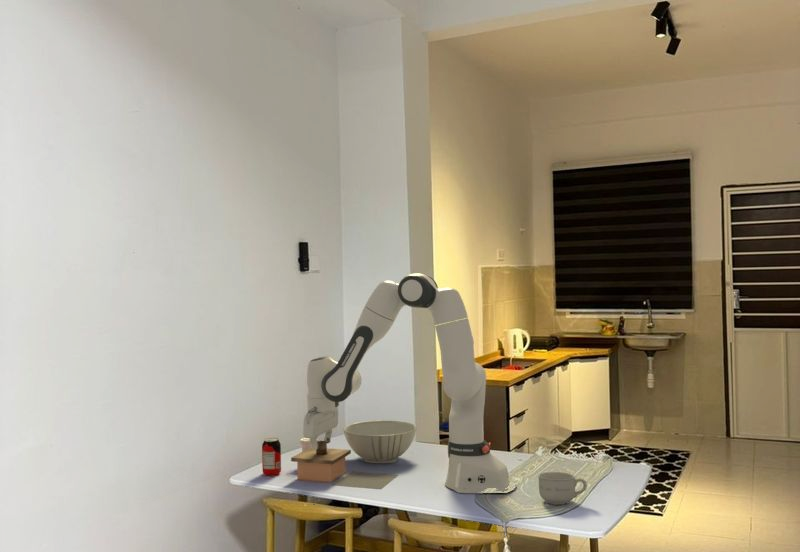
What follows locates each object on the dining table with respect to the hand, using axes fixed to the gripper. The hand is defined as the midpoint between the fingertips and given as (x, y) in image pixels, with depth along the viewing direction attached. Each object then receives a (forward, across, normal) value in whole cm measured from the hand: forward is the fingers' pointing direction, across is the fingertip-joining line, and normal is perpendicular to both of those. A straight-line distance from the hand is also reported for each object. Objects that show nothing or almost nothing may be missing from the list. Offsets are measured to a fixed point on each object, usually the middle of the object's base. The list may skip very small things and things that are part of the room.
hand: (321, 446), depth 240 cm
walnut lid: (+4, 0, 0) cm, 4 cm away
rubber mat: (+11, 0, -16) cm, 19 cm away
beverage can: (+11, 0, +19) cm, 22 cm away
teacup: (+11, -5, -80) cm, 81 cm away
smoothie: (+11, +13, +11) cm, 20 cm away
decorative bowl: (+11, +27, -11) cm, 31 cm away
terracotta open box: (+11, 0, 0) cm, 11 cm away
